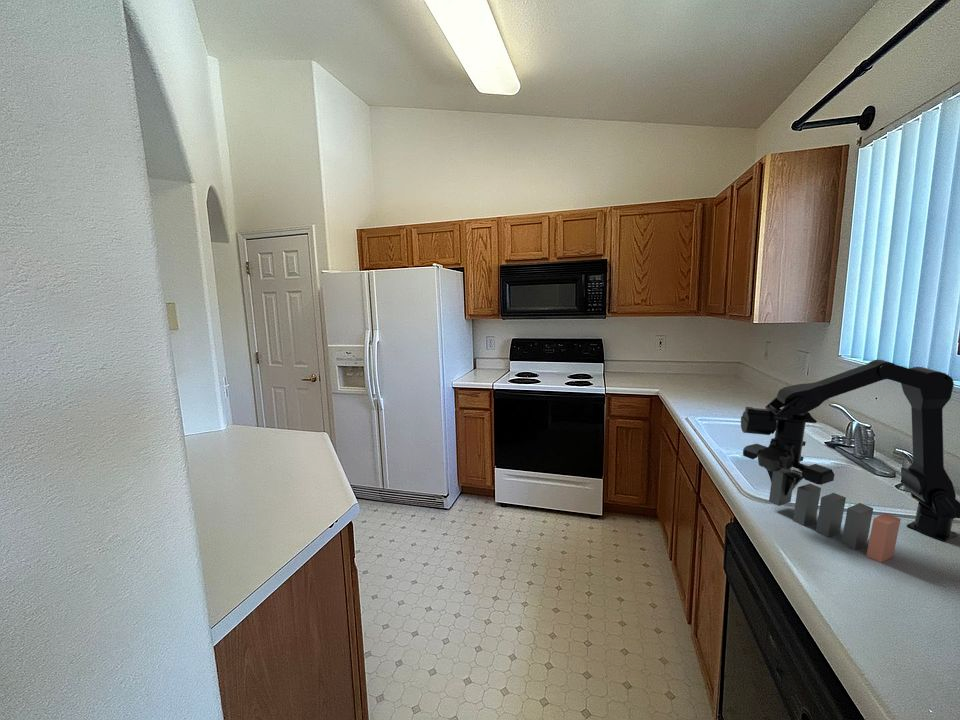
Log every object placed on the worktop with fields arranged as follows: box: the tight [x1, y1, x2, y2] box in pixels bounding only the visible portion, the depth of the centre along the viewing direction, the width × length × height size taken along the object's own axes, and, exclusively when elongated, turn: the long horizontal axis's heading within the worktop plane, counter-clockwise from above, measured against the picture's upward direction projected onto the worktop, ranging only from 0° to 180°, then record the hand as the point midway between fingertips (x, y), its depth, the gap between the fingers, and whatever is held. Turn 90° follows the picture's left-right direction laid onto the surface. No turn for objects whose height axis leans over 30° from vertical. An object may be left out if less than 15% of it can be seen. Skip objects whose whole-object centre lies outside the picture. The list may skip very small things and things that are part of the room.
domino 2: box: [792, 483, 822, 526], centre depth 98 cm, size 2×5×9 cm, turn 113°
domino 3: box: [815, 492, 847, 538], centre depth 94 cm, size 2×5×9 cm, turn 113°
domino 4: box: [840, 502, 874, 551], centre depth 89 cm, size 2×5×9 cm, turn 113°
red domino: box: [866, 513, 902, 564], centre depth 85 cm, size 2×5×9 cm, turn 113°
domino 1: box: [768, 468, 793, 507], centre depth 103 cm, size 2×5×9 cm, turn 113°
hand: (781, 492), depth 104 cm, fingers closed on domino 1, 2 cm apart
